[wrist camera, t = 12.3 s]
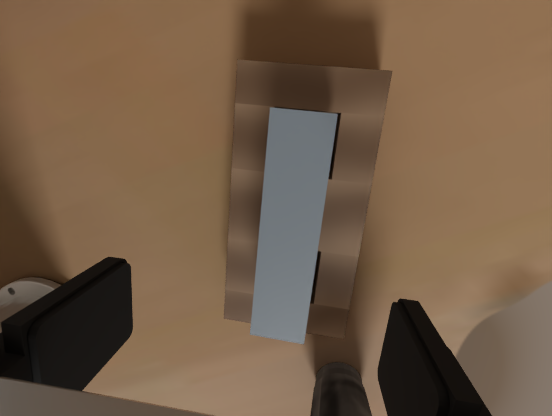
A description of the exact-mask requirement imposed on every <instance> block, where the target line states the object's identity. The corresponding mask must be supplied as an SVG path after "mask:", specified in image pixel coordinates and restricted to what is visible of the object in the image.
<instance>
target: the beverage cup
mask: <svg viewBox="0 0 552 416" xmlns="http://www.w3.org/2000/svg"><path fill="white" fill-rule="evenodd" d="M311 416H372V414H371V410H370V407H369V403H368V399H367V396H366V392H365V389H364V387H363V384H362V380H361V377H360V374H359V373H358V372H357V370H356V369H354V368H353V367H351V366H350V365H347V364H344V363H338V362H335V363H329V364H327V365H325V366H323V367H322V368H321V369H320V370H319V371H318V373H317V375H316V382H315V387H314V392H313V400H312V408H311Z"/></svg>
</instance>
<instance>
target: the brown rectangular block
mask: <svg viewBox="0 0 552 416" xmlns="http://www.w3.org/2000/svg"><path fill="white" fill-rule="evenodd" d="M391 75H392V71H388V70H374V69H360V68H347V67H333V66H319V65H306V64H292V63H278V62H264V61H251V60H237V75H236V94H235V113H234V132H233V152H232V171H231V190H230V209H229V228H228V247H227V266H226V285H225V304H224V319H229V320H235V321H241V322H247V323H251V318H252V307H253V295H254V284H255V273H256V261H257V250H258V239H259V227H260V216H261V205H262V193H263V182H264V171H265V159H266V148H267V137H268V125H269V114H270V107H272V108H282V109H292V110H303V111H313V112H323V113H334V114H338V119H337V126H336V133H335V140H334V147H333V154H332V161H331V168H330V172H329V177H328V184H327V191H326V198H325V205H324V211H323V218H322V225H321V232H320V239H319V245H318V251H319V253H318V260H317V267H316V274H315V280H314V279H313V286H312V293H311V300H310V307H309V313H308V320H307V327H306V333H310V334H316V335H322V336H328V337H334V338H339V339H344V335H345V329H346V324H347V318H348V313H349V307H350V302H351V296H352V291H353V285H354V280H355V274H356V269H357V263H358V258H359V252H360V247H361V241H362V236H363V230H364V224H365V219H366V213H367V208H368V202H369V197H370V191H371V186H372V180H373V175H374V169H375V164H376V158H377V153H378V147H379V142H380V136H381V131H382V125H383V120H384V114H385V109H386V103H387V97H388V92H389V86H390V81H391Z"/></svg>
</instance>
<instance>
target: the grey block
mask: <svg viewBox="0 0 552 416" xmlns="http://www.w3.org/2000/svg"><path fill="white" fill-rule="evenodd" d="M337 116H338V114H334V113H323V112H313V111H303V110H292V109H282V108H272V107H270V114H269V125H268V137H267V148H266V159H265V171H264V182H263V193H262V205H261V216H260V227H259V239H258V250H257V261H256V273H255V284H254V295H253V307H252V318H251V329H250V335H256V336H261V337H267V338H272V339H278V340H283V341H289V342H294V343H300V344H304V341H305V334H306V327H307V320H308V313H309V307H310V300H311V293H312V286H313V279H314V273H315V266H316V259H317V252H318V245H319V239H320V232H321V225H322V218H323V211H324V205H325V198H326V191H327V184H328V177H329V171H330V164H331V157H332V150H333V143H334V137H335V130H336V123H337Z"/></svg>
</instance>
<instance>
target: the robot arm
mask: <svg viewBox="0 0 552 416" xmlns="http://www.w3.org/2000/svg"><path fill="white" fill-rule="evenodd" d="M132 329H133V318H132V287H131V266H130V264H128V263H127V261H126V260H125V259H121V258H114V257H107V258H105V259H103V260H102V261H100V262H99V263H97V264H95V265H94V266H92V267H90V268H89V269H87V270H85V271H84V272H82V273H81V274H79V275H77V276H76V277H74V278H72V279H71V280H69V281H67V282H66V283H64V284H63V285H60V284H58V283H56V282H53V281H51V280H47V279H43V278H35V277H29V278H21V279H19V280H16V281H14V282H12V283H10V284H8V285H6V286H4V287H2V288H1V289H0V416H214V415H209V414H204V413H198V412H193V411H188V410H183V409H177V408H172V407H166V406H161V405H156V404H150V403H145V402H140V401H134V400H129V399H123V398H118V397H112V396H107V395H101V394H96V393H90V392H84V391H82V390H83V389H84V388H85V387H86V386H87V384H88V383H89V382H90V381H91V380H92V379H93V378H94V377H95V376H96V374H97V373H98V372H99V371H100V370H101V369H102V368H103V367H104V365H105V364H106V363H107V362H108V361H109V360H110V359H111V358H112V356H113V355H114V354H115V353H116V352H117V351H118V350H119V349H120V347H121V346H122V345H123V344H124V343H125V342H126V341H127V340H128V338H129V337H130V335H131V333H132ZM378 381H379V385H380V389H381V392H382V396H383V400H384V404H385V408H386V411H387V415H388V416H492V415H491V414H490V412H489V410H488V409H487V407H486V406H485V404H484V402H483V401H482V399H481V398H480V396H479V394H478V393H477V391H476V390H475V388H474V387H473V385H472V383H471V382H470V380H469V379H468V377H467V376H466V374H465V372H464V371H463V369H462V367H461V366H460V364H459V363H458V361H457V360H456V358H455V356H454V355H453V353H452V352H451V350H450V349H449V348H448V347H447V346H446V345H445V343H444V341H443V340H442V338H441V337H440V335H439V333H438V332H437V330H436V329H435V327H434V325H433V324H432V322H431V321H430V319H429V317H428V316H427V314H426V313H425V311H424V309H423V308H422V306H421V305H420V303H419V302H418V301H414V300H407V299H399V300H398V302H393V303H392V306H391V310H390V315H389V320H388V324H387V329H386V333H385V338H384V343H383V347H382V352H381V356H380V361H379V366H378Z"/></svg>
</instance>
